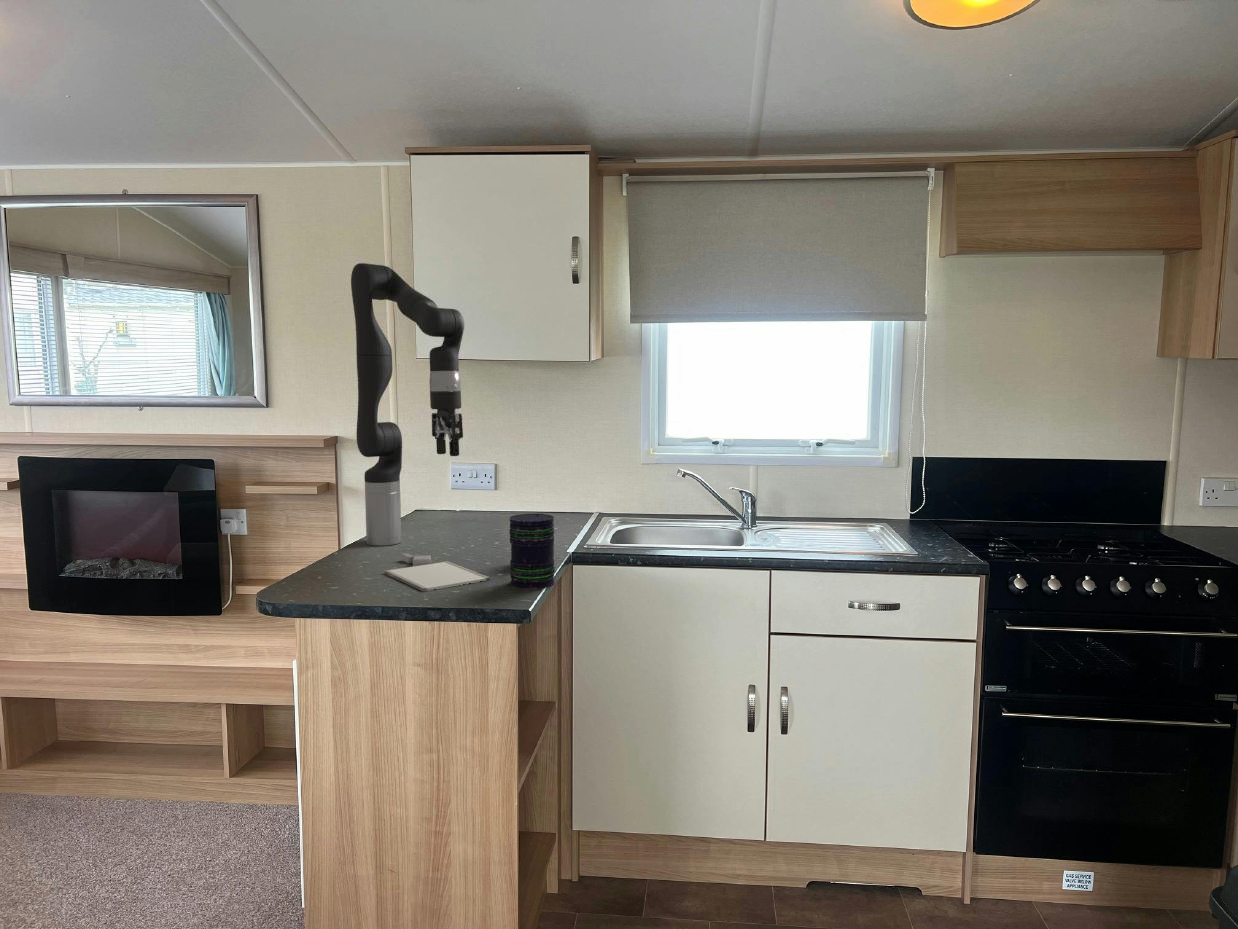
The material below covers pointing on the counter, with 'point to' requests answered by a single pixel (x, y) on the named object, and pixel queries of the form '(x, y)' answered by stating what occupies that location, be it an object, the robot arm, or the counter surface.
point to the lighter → (416, 559)
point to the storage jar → (532, 551)
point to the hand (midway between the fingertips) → (447, 455)
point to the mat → (436, 576)
